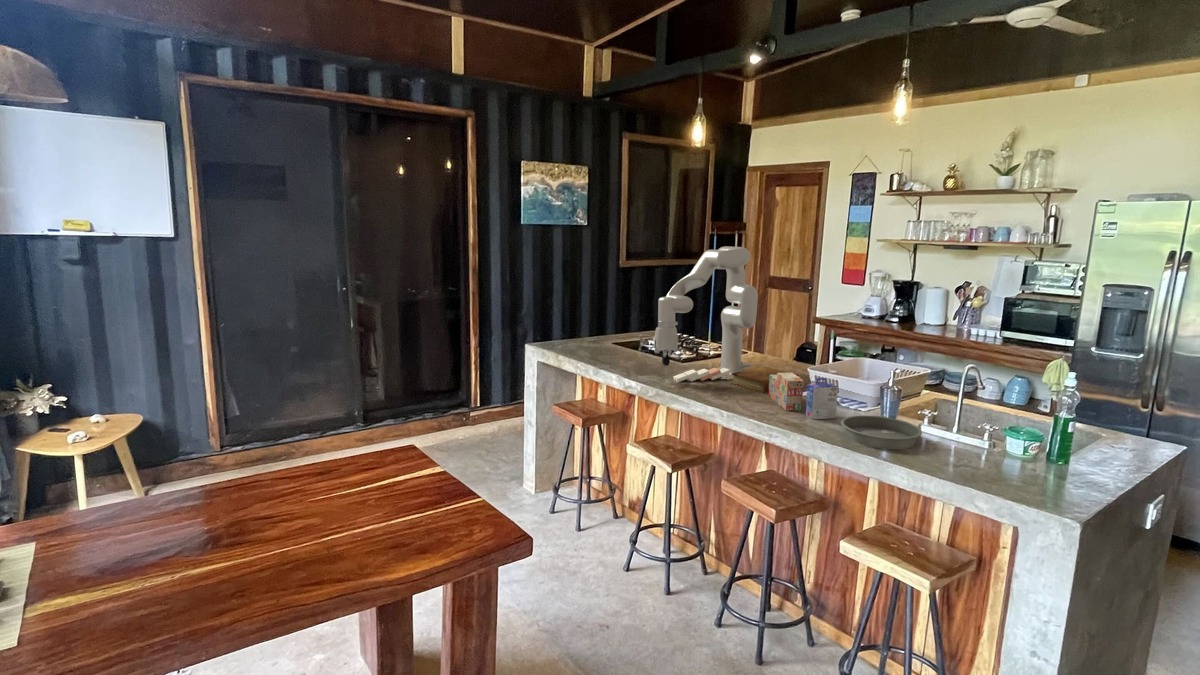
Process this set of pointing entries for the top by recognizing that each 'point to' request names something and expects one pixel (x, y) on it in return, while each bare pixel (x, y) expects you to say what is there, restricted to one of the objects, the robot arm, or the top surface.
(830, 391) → the ink cartridge box
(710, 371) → the terracotta domino
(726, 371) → the domino
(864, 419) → the cake pan
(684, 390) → the top surface
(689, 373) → the head domino
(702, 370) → the domino
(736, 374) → the diary
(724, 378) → the end domino
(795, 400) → the stack of blocks
